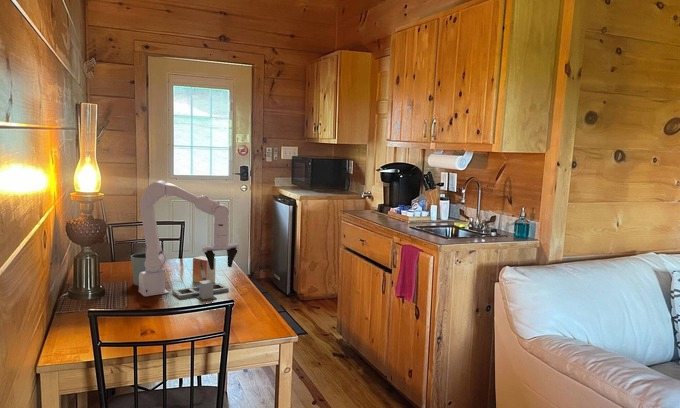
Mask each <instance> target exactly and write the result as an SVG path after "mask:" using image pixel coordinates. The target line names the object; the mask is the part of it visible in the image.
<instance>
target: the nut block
mask: <svg viewBox="0 0 680 408" xmlns="http://www.w3.org/2000/svg"><path fill="white" fill-rule="evenodd" d="M198 284H199V285H198V286H199V291H198V292H199V297H201V298H202V299H209V298H213V296H214V294H213V284H214V282H212V281H210V280H206V281H199V283H198Z"/></svg>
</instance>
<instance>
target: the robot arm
mask: <svg viewBox="0 0 680 408" xmlns="http://www.w3.org/2000/svg"><path fill="white" fill-rule="evenodd" d="M164 196H165V197H177V198H179V199H182V200H184V201H187V202H189V203H191V204H194V206H195V209H196V210H199V211H201V212H203V213H205V214H208V215H210V216H211V215H212V216H213V218H214V223H213V244H211V245H205V246H202V252H203V253H204V255H205V257H207V259H208V262H209V266H210V269H211V270H214V258H215V256H216V254H215V252H217V251H225V250H226V254H227V267H228V268H232V267H233V262H234V259H235V257H236V255H237V254H238V249H239V247H240V245H239V243H229V236H230V235H229V231H230V230H229V227H230V225H229V215H230V214H229V213H230V208H229V207H228V206H227V205H226V204H225V203H223V202H222V203H221V201H219V200H218V201H216V200H214V199H211V198H210V196H209V195H208V194H205V195H203V194H202V195H199V196H197V195H196V194H194V193H192V192H189V190H186V189H184V188H181V187H180V186H178V185H176V184H173V183H171V182H167V181H165V180H164V179H162V180H161V179H159V180H156V181H154V182H151V183H150V184H149V185H147V187H145V189H144V193H143V194H142V197H141V199H140V201H139V210H140V214H141V215H140V216H141V221H142V227H143V233H144V240H145V247H146V249H145V253H146V260H145V268H146V271H144V272H140V273H139V286H138V293H140V295H142V296H143V297H150V296H157V295H164V294H169V293H170V292H169V291H168V290H167V289H166V268H165V265H164V264H165V263H166V260H167V258H166V255H165V253H164V252H163V248H162V245H161V244H160V238H159V232H158V231H159V230H158V224H157V217H156V211H155V204H157V203H158V201H159V200H160V199H161V198H163V197H164Z"/></svg>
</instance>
